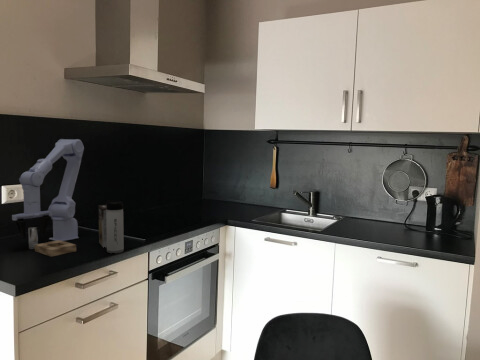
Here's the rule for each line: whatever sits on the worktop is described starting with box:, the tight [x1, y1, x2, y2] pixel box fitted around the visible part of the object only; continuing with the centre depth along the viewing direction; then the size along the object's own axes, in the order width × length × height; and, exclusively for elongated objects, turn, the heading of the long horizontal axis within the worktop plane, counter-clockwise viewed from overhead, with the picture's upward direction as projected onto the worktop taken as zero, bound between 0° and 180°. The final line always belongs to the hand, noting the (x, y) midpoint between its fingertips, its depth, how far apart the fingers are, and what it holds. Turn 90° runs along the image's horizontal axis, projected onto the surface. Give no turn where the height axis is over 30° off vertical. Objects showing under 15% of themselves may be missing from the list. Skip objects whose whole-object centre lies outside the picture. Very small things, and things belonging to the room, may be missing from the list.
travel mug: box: [105, 199, 125, 254], centre depth 154 cm, size 6×7×20 cm
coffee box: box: [98, 204, 107, 248], centre depth 164 cm, size 9×6×16 cm
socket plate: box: [34, 240, 77, 258], centre depth 154 cm, size 10×12×2 cm
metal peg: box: [27, 227, 39, 250], centre depth 158 cm, size 3×3×8 cm
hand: (33, 235), depth 157 cm, fingers open, 7 cm apart
